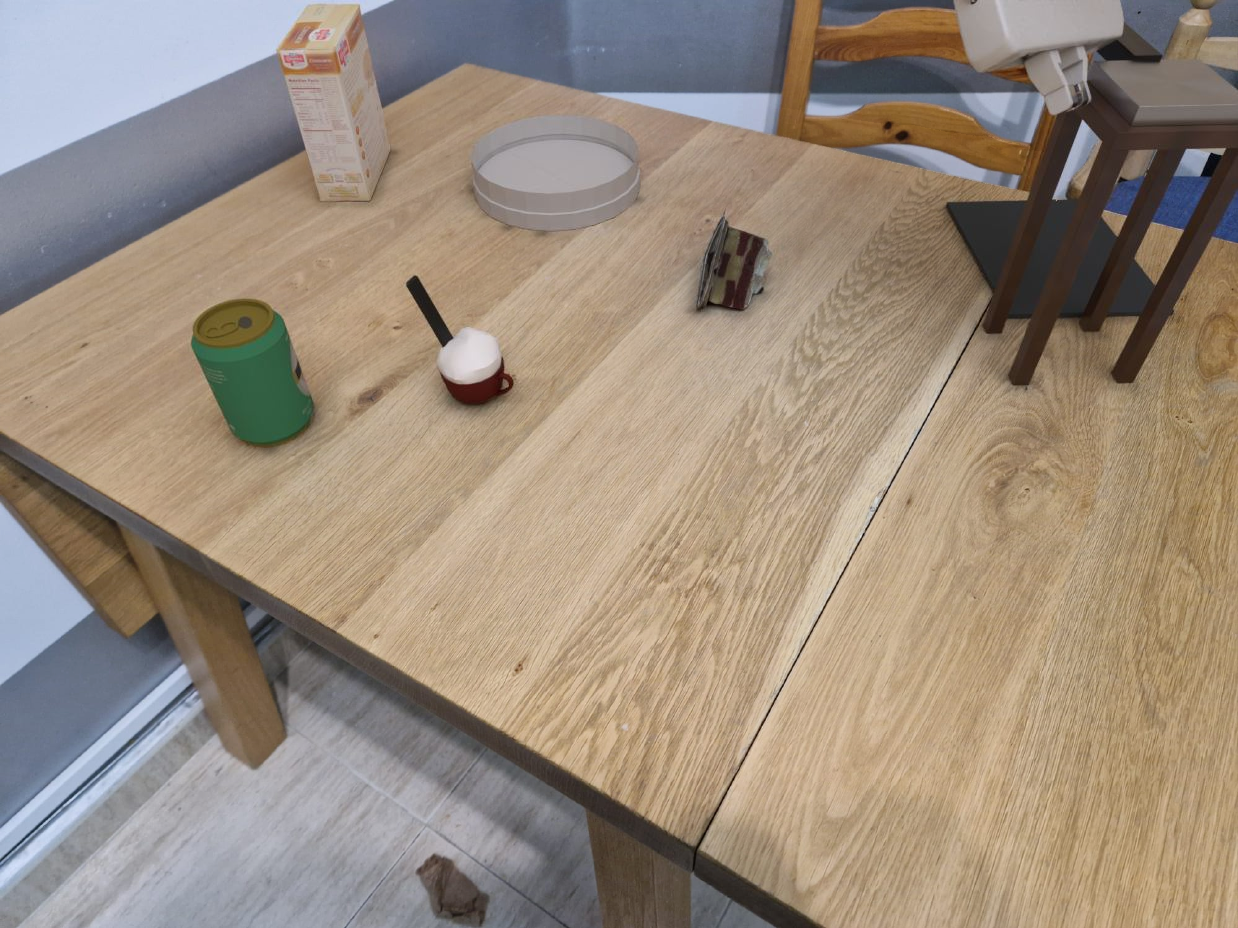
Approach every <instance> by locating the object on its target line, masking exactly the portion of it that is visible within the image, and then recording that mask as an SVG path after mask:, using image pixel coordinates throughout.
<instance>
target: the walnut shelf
mask: <svg viewBox="0 0 1238 928" xmlns="http://www.w3.org/2000/svg"><path fill="white" fill-rule="evenodd" d="M1087 84H1088V88H1089V91H1090V94H1091V102H1089V104H1088V105H1086V106H1083V107H1081V108H1079V109H1077V110H1074V111H1069V112H1064V113H1061V114H1058V115H1056V117H1055V120H1054V123H1053V125H1052V128H1051V131H1050V133H1049V137H1048V139H1047V142H1046V145H1045V148H1044V150H1043V154H1042V157H1041V160H1040V162H1039V165H1038V169H1037V171H1036V174H1035V176H1034V179H1033V182H1032V185H1031V187H1030V191H1029V193H1028V196H1027V198H1026V200H1027V201H1026V204H1025V207H1024V210H1023V213H1022V215H1021V218H1020V221H1019V224H1018V227H1017V229H1016V232H1015V235H1014V238H1013V241H1012V244H1011V246H1010V249H1009V252H1008V255H1007V258H1006V260H1005V263H1004V266H1003V269H1002V272H1001V274H1000V277H999V280H998V283H997V286H996V289H995V291H994V293H993V295H992V297H991V300H990V303H989V306H988V309H987V311H986V314H985V317H984V320H983V322H982V327H983V328H984V330H985V333H986V334H1002V333H1003V330H1004V328H1005V325H1006V323H1007V320H1008V319H1009V318H1008V315H1009V312H1010V310H1011V307H1012V304H1013V302H1014V299H1015V296H1016V294H1017V291H1018V289H1019V286H1020V283H1021V281H1022V278H1023V275H1024V273H1025V270H1026V267H1027V265H1028V262H1029V259H1030V257H1031V254H1032V252H1033V249H1034V246H1035V244H1036V241H1037V238H1038V236H1039V233H1040V230H1041V228H1042V225H1043V222H1044V220H1045V217H1046V214H1047V212H1048V209H1049V207H1050V204H1051V201H1052V200H1054V196H1055V193H1056V191H1057V188H1058V186H1059V183H1060V180H1061V178H1062V174H1063V172H1064V170H1065V167H1066V164H1067V161H1068V159H1069V157H1070V153H1071V150H1072V148H1073V146H1074V143H1075V140H1076V138H1077V135H1078V132H1079V130H1080V128H1081V124H1082V122H1084V123H1085V124H1086V125H1087V127H1088V128H1089V129H1090V130H1091V131H1092V132H1093V133H1094V134H1095V136H1096V137H1097V138H1098V139H1099V140H1100V141H1101V143H1100V145H1099V148H1098V151H1097V154H1096V156H1095V158H1094V161H1093V163H1092V166H1091V168H1090V171H1089V173H1088V176H1087V178H1086V181H1085V184H1084V186H1083V188H1082V191H1081V193H1080V195H1079V198H1078V199H1079V200H1078V203H1077V205H1076V208H1075V210H1074V213H1073V215H1072V218H1071V220H1070V223H1069V225H1068V228H1067V230H1066V233H1065V235H1064V238H1063V240H1062V243H1061V245H1060V248H1059V250H1058V253H1057V255H1056V258H1055V260H1054V263H1053V265H1052V267H1051V270H1050V272H1049V275H1048V277H1047V280H1046V282H1045V285H1044V287H1043V290H1042V292H1041V295H1040V297H1039V300H1038V302H1037V305H1036V307H1035V310H1034V312H1033V315H1032V317H1031V318H1030V319H1029V322H1028V324H1027V326H1026V327H1027V328H1026V330H1025V332H1024V334H1023V337H1022V340H1021V342H1020V344H1019V347H1018V349H1017V352H1016V354H1015V357H1014V359H1013V362H1012V365H1011V367H1010V370H1009V372H1008V374H1007V376H1008V378H1009V379H1010V382H1011V384H1012V386H1029V385H1030V383H1031V381H1032V378H1033V377H1034V374H1035V371H1036V369H1037V368H1038V365H1039V362H1040V360H1041V357H1042V355H1043V353H1044V351H1045V349H1046V346H1047V344H1048V341H1049V339H1050V337H1051V334H1052V332H1053V330H1054V327H1055V326H1056V323H1057V320H1058V318H1059V317H1058V316H1059V313H1060V311H1061V309H1062V306H1063V304H1064V302H1065V299H1066V297H1067V295H1068V292H1069V290H1070V288H1071V285H1072V283H1073V281H1074V278H1075V276H1076V274H1077V271H1078V269H1079V267H1080V265H1081V262H1082V260H1083V258H1084V255H1085V253H1086V251H1087V248H1088V246H1089V244H1090V241H1091V239H1092V237H1093V234H1094V232H1095V230H1096V227H1097V225H1098V223H1099V220H1100V218H1101V217H1103V216H1102V215H1103V214H1104V212H1105V208H1106V206H1107V205H1108V201H1109V199H1110V197H1111V195H1112V192H1113V190H1114V187H1115V186H1116V183H1117V181H1118V178H1119V176H1120V173H1121V171H1122V169H1123V166H1124V165H1125V163H1126V160H1127V157H1128V155H1129V152H1130V151H1155V154H1154V155H1153V158H1152V161H1151V163H1150V164H1149V166H1148V169H1147V171H1146V174H1145V176H1144V177H1143V180H1142V182H1141V184H1140V187H1139V189H1138V191H1137V192H1136V193H1137V194H1136V195H1135V198H1134V200H1133V202H1132V205H1131V206H1130V209H1129V211H1128V213H1127V215H1126V217H1125V220H1124V222H1123V225H1122V227H1121V229H1120V231H1119V233H1118V235H1117V240H1116V242H1115V244H1114V246H1113V248H1112V251H1111V253H1110V255H1109V257H1108V259H1107V262H1106V264H1105V266H1104V268H1103V270H1102V273H1101V275H1100V277H1099V279H1098V281H1097V284H1096V286H1095V288H1094V290H1093V293H1092V295H1091V297H1090V299H1089V301H1088V304H1087V306H1086V308H1085V310H1084V312H1083V315H1082V317H1080V319H1079V321H1078V324H1079V325H1080V327H1081V329H1082V331H1084V333H1087V332H1088V333H1089V332H1090V333H1091V332H1100V331H1101V329H1102V326H1103V325H1104V322H1105V320H1106V318H1107V317H1108V316H1107V314H1108V312H1109V310H1110V308H1111V306H1112V303H1113V301H1114V299H1115V297H1116V295H1117V293H1118V291H1119V289H1120V287H1121V285H1122V283H1123V281H1124V278H1125V276H1126V274H1127V272H1128V270H1129V268H1130V266H1131V264H1132V262H1133V260H1134V259H1135V258H1136V255H1137V253H1138V251H1139V249H1140V248H1141V245H1142V243H1143V242H1144V241H1143V240H1144V239H1145V237H1146V234H1147V232H1148V230H1149V228H1150V226H1151V224H1152V223H1153V220H1154V218H1155V216H1156V213H1158V212H1157V211H1158V209H1159V207H1160V205H1161V203H1162V201H1163V199H1164V197H1165V195H1166V193H1167V191H1168V188H1169V186H1170V185H1171V182H1172V180H1173V178H1174V176H1175V174H1176V172H1177V169H1178V168H1179V165H1180V163H1181V161H1182V159H1183V157H1184V155H1185V153H1186V151H1187V150H1205V149H1207V150H1210V149H1224V151H1223V154H1222V155H1221V157H1220V159H1219V161H1218V163H1217V165H1216V167H1215V169H1214V171H1213V172H1212V174H1211V177H1210V179H1209V180H1208V183H1207V184H1206V187H1205V188H1204V190H1203V192H1202V194H1201V196H1200V199H1199V200H1198V202H1197V204H1196V206H1195V208H1194V210H1193V212H1192V214H1191V216H1190V218H1189V219H1188V221H1187V224H1186V225H1185V228H1184V229H1183V232H1182V233H1181V235H1180V237H1179V239H1178V241H1177V243H1176V245H1175V247H1174V249H1173V250H1172V253H1171V255H1170V257H1169V259H1168V260H1167V263H1166V265H1165V267H1164V269H1163V271H1162V272H1161V274H1160V276H1159V278H1158V280H1157V282H1156V284H1155V288H1154V290H1153V292H1152V294H1151V296H1150V298H1149V300H1148V302H1147V303H1146V305H1145V307H1144V309H1143V311H1142V313H1141V315H1140V316H1139V317H1138V319H1137V321H1136V323H1135V324H1134V327H1133V329H1132V331H1131V333H1130V335H1129V337H1128V339H1127V341H1126V342H1125V344H1124V346H1123V349H1122V350H1121V352H1120V354H1119V356H1118V358H1117V360H1116V362H1115V364H1114V366H1113V367H1112V370H1111V371H1110V374H1111V376H1112V377H1113V379H1114V380H1115V382H1116V384H1133V383H1134V382H1135V380H1136V378H1137V376H1138V374H1139V373H1140V371H1141V369H1142V367H1143V365H1144V364H1145V361H1146V360H1147V358H1148V357H1149V354H1150V353H1151V351H1152V348H1153V347H1154V345H1155V343H1156V341H1157V340H1158V337H1159V335H1160V334H1161V332H1162V330H1163V328H1164V326H1165V325H1166V323H1167V321H1168V319H1169V317H1170V316H1171V315H1170V314H1171V312H1172V310H1173V309H1174V308H1175V307H1176V305H1177V303H1178V300H1179V299H1180V297H1181V295H1182V293H1183V292H1184V290H1185V288H1186V286H1187V284H1188V282H1189V280H1190V279H1191V277H1192V275H1193V273H1194V271H1195V269H1196V268H1197V265H1198V264H1199V262H1200V260H1201V259H1202V256H1204V255H1203V254H1204V253H1205V251H1206V249H1207V248H1208V246H1209V244H1210V242H1211V240H1212V237H1213V236H1214V235H1215V232H1216V231H1217V229H1218V227H1219V225H1220V223H1221V221H1222V219H1223V218H1224V216H1225V214H1226V212H1227V210H1228V208H1229V207H1230V205H1231V203H1232V201H1233V199H1234V197H1235V195H1236V193H1237V192H1238V124H1213V125H1166V126H1131V125H1130V124H1129V123H1128V122H1127V121H1126V120H1125V119H1124V118H1123V117H1122V116H1121V115H1120V114H1119V113H1118V112H1117V111H1116V110H1115V109H1114V108H1113V107H1112V106H1111V105H1110V104H1109V103H1108V101H1107V100H1106V99H1105V98H1104V97H1103V96H1102V95H1101V94H1100V93H1099V92H1098V91H1097V90H1096V89H1095V88H1094V87H1093V86H1092V85H1091V84H1090V83H1089V82H1088V81H1087Z"/></svg>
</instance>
